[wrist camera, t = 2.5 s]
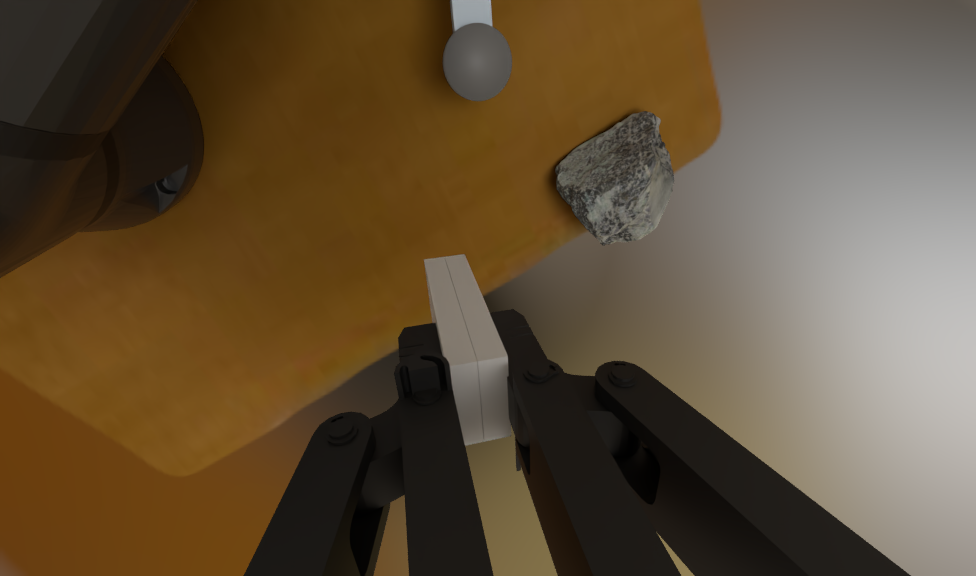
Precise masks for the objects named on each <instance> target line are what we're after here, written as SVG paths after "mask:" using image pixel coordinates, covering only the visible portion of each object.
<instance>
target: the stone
mask: <svg viewBox="0 0 976 576" xmlns="http://www.w3.org/2000/svg"><path fill="white" fill-rule="evenodd" d="M660 122H661V120H660V119H659V118H658V117H656V116H655V115H654V114H653V113H650V112H647V111H644V112H640V113H638V114H632V115H630V116H629V117H627V118H626V119H624V120H623V121H622V122H618V123H617V124H616V125H615V126H613V127H612V128H611V129H610V130H608V131H606V132H604V133H601V134H600V135H598V136H596V137H594V138H592V139H590V140H589V141H587V142H585V143H583V144H581V145H580V146H578V147H577V148H575V149H574V150H573V151H572V152H571V153H570V154H568V156H567V157H566V158H565V159H564V160H562V161H561V162H560V164H559V165H557V166H556V169H555V172H556V175H557V179H556V186H557V190H558V192H559V194H560V195H561V197H562V198H563V199H564V200H565V201H566V202H567V203H568V204H569V205H570V206H571V207H572V211H573V213H574V214H575V216H576V217H577V218H578V219H579V220H580V222H581V223H582V224H583V225H584V227H585V228H586V229H587V230H589V231H590V233H592V234H593V235H594V236H595V238H596V239H597V240H598V241H600V243H601V244H602V245H605V244H611V243H614V242H616V241H619V242H630V241H634V240H640V239H641V238H642V237H644V236H645V235H647V234H649V233H651V232H652V231H653V230H654V229H655V228H656V227H657V225H658V223H659V221H660V219H661V217H662V214H663V212H664V211H665V208H666V206H667V203H668V201H669V198H670V196H671V193H672V186H673V182H674V175H673V170H672V167H671V160H670V155H669V152H668V151H667V150H666V148H665V143H664V142H662V141H661V135H660V134H659V124H660Z"/></svg>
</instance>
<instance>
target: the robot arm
mask: <svg viewBox="0 0 976 576" xmlns="http://www.w3.org/2000/svg"><path fill="white" fill-rule="evenodd" d="M197 1H198V0H0V278H1V277H3V276H4V275H6V274H8V273H9V272H11V271H13V270H14V269H16V268H18V267H20V266H21V265H23V264H25V263H26V262H28V261H30V260H32V259H33V258H35V257H37V256H38V255H40V254H42V253H43V252H45V251H47V250H49V249H50V248H52V247H54V246H55V245H57V244H59V243H60V242H62V241H64V240H66V239H67V238H69V237H71V236H72V235H74V234H76V233H77V232H92V231H108V230H118V229H124V228H129V227H133V226H136V225H139V224H142V223H145V222H148V221H150V220H152V219H154V218H156V217H158V216H160V215H161V214H163V213H164V212H166V211H167V210H169V209H170V208H171V207H173V206H174V205H175V204H177V203H178V202H179V201H180V200H181V199H183V198H184V196H185V195H186V194H187V193H188V192H189V191H190V189H191V188H192V186H193V185H194V183H195V181H196V179H197V177H198V174H199V172H200V169H201V165H202V160H203V150H204V144H203V133H202V127H201V123H200V119H199V116H198V113H197V110H196V107H195V105H194V102H193V100H192V98H191V96H190V94H189V92H188V91H187V89H186V87H185V85H184V84H183V82H182V81H181V79H180V78H179V76H178V75H177V74H176V72H175V71H174V70H173V68H172V67H171V66H170V65H169V64H168V62H167V61H166V60H165V59H164V58H163V57H162V56H161V55H162V53H163V52H164V50H165V49H166V47H167V46H168V44H169V43H170V41H171V40H172V38H173V37H174V35H175V34H176V32H177V31H178V29H179V28H180V26H181V25H182V23H183V22H184V20H185V19H186V17H187V16H188V14H189V13H190V11H191V10H192V8H193V7H194V5H195V4H196V2H197ZM424 263H425V270H426V278H427V285H428V292H429V300H430V307H431V314H432V322H433V323H431V324H424V325H418V326H412V327H406V328H404V329H403V331H402V333H401V334H400V336H399V337H398V341H399V357H400V363H399V364H398V365H397V366H396V369H395V372H394V375H395V380H396V385H397V390H398V395H399V399H398V401H397V402H396V403H395V404H394V405H393V406H392V407H391V408H390V409H388V410H387V411H385V412H383V413H382V414H380V415H377V416H375V417H373V418H371V419H369V418H368V417H367V416H365V415H363V414H362V413H356V412H346V413H341V414H338V415H335V416H333V417H331V418H329V419H327V420H326V421H325V422H323V423H322V424H321V425H319V427H318V428H317V430H316V431H315V432H314V434H313V436H312V438H311V440H310V442H309V444H308V446H307V448H306V450H305V452H304V454H303V456H302V458H301V460H300V462H299V464H298V466H297V468H296V470H295V473H294V474H293V476H292V479H291V480H290V483H289V485H288V487H287V489H286V491H285V493H284V495H283V497H282V499H281V501H280V503H279V505H278V507H277V509H276V511H275V514H274V515H273V517H272V519H271V521H270V523H269V525H268V527H267V530H266V532H265V534H264V535H263V537H262V540H261V542H260V544H259V546H258V548H257V550H256V552H255V554H254V556H253V558H252V560H251V562H250V564H249V566H248V568H247V570H246V572H245V574H244V576H373V575H374V570H375V566H376V562H377V558H378V554H379V550H380V546H381V542H382V538H383V534H384V530H385V525H386V521H387V517H388V513H389V509H390V502H392V501H394V500H396V499H397V498H399V497H401V496H403V495H405V509H406V526H407V544H408V563H409V576H493V571H492V567H491V562H490V558H489V553H488V549H487V544H486V539H485V535H484V530H483V526H482V521H481V517H480V512H479V508H478V503H477V498H476V494H475V489H474V485H473V480H472V476H471V471H470V467H469V462H468V457H467V453H466V448H465V445H470V444H475V443H479V442H484V441H489V440H494V439H498V438H504V437H508V436H511V425H512V428H513V431H514V434H515V446H516V468H517V471H519V470H521V468H522V470H523V473H524V476H525V479H526V482H527V485H528V488H529V491H530V494H531V497H532V500H533V503H534V506H535V509H536V512H537V515H538V518H539V521H540V524H541V527H542V530H543V533H544V536H545V539H546V542H547V545H548V548H549V551H550V554H551V557H552V560H553V563H554V566H555V569H556V572H557V574H558V576H681V574H680V573H679V571H678V569H677V567H676V566H675V564H674V562H673V560H672V559H671V557H670V555H669V554H668V552H667V550H666V548H665V547H664V545H663V543H662V541H661V540H660V538H659V536H658V534H659V535H660V536H661V538H662V539H663V540H664V541H665V542H666V543H667V544H668V545H669V547H670V548H671V549H672V550H673V551H674V552H675V554H676V555H677V556H678V557H679V558H680V559H681V561H682V562H683V563H684V564H685V565H686V566H687V567H688V568H689V570H690V571H691V572H692V573H693V574H694V575H695V576H910V575H909V574H908V573H907V572H905V571H904V570H903V569H901V568H900V567H899V566H898V565H896V564H895V563H893V562H892V561H891V560H889V559H888V558H887V557H886V556H885V555H883V554H882V553H881V552H879V551H878V550H877V549H875V548H874V547H873V546H872V545H870V544H869V543H868V542H866V541H865V540H864V539H863V538H861V537H860V536H859V535H857V534H856V533H855V532H853V531H852V530H850V528H848V527H847V526H846V525H844V524H843V523H842V522H840V521H839V520H838V519H837V518H835V517H834V516H832V515H831V514H830V513H829V512H827V511H826V510H825V509H824V508H822V507H821V506H820V505H818V504H817V503H816V502H815V501H813V500H812V499H811V498H809V497H808V496H807V495H805V494H804V493H803V492H802V491H800V490H799V489H798V488H796V487H795V486H794V485H793V484H791V483H790V482H789V481H787V480H786V479H785V478H783V477H782V476H781V475H779V474H778V473H777V472H776V471H774V470H773V469H772V468H770V467H769V466H768V465H767V464H765V463H764V462H762V461H761V460H760V459H759V458H758V457H756V456H755V455H754V454H752V453H751V452H750V451H748V450H747V449H746V448H745V447H743V446H742V445H741V444H739V443H738V442H737V441H735V440H734V439H733V438H731V437H730V436H729V435H728V434H726V433H725V432H724V431H723V430H721V429H720V428H719V427H717V426H716V425H715V424H713V423H712V422H711V421H710V420H708V419H707V418H706V417H704V416H703V415H702V414H701V413H699V412H698V411H696V410H695V409H694V408H693V407H691V406H690V405H689V404H688V403H686V402H685V401H684V400H682V399H681V398H680V397H678V396H677V395H676V394H675V393H673V392H672V391H671V390H669V389H668V388H667V387H665V386H664V385H663V384H662V383H660V382H659V381H658V380H656V379H655V378H654V377H653V376H651V375H650V374H649V373H647V372H646V371H645V370H643V369H642V368H640V367H638V366H637V365H635V364H632V363H628V362H624V361H612V362H607V363H604V364H603V365H601V366H599V367H598V369H597V371H596V373H595V376H579V375H571V374H567V373H564V372H563V369H562V368H561V367H560V366H559V365H558V364H556V363H554V362H552V361H550V360H548V359H547V357H546V355H545V354H544V352H543V350H542V348H541V347H540V345H539V343H538V341H537V339H536V337H535V336H534V335H533V332H532V330H531V328H530V327H529V325H528V323H527V321H526V319H525V318H524V316H523V315H521V314H520V313H518V312H517V311H515V310H514V309H511V310H505V311H499V312H492V313H489V311H488V308H487V306H486V304H485V301H484V299H483V296H482V294H481V292H480V289H479V287H478V285H477V282H476V280H475V278H474V275H473V273H472V271H471V268H470V266H469V263H468V261H467V259H466V256H465V254H462V255H455V256H447V257H445V258H444V257H440V258H433V259H425V260H424ZM656 532H657V533H658V534H657V533H656Z"/></svg>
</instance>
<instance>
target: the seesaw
mask: <svg viewBox="0 0 976 576" xmlns="http://www.w3.org/2000/svg"><path fill="white" fill-rule="evenodd" d="M450 8H451V18H452V28H453V34H452V35H451V37H450V38H449V40H448V41H447V43H446V46H445V48H444V52H443V60H442V63H443V71H444V75H445V77H446V80H447V82H448V83H449V85H450V86H451V88H452V89H453V90H454V91H455V92H456V93H457V94H459V95H460V96H462V97H464V98H466V99H469V100H472V101H483V100H487V99H490V98H492V97H494V96H495V95H497V94H498V93H499V92H500V91H501V90H502V89H503V88H504V86H505V85H506V83H507V81H508V79H509V77H510V73H511V68H512V57H511V51H510V48H509V45H508V43H507V41H506V39H505V38H504V36H503V35H502V34H501V33H500V32H499V31H498V30H497V29H495V28H494V27H492V14H491V0H450Z"/></svg>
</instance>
